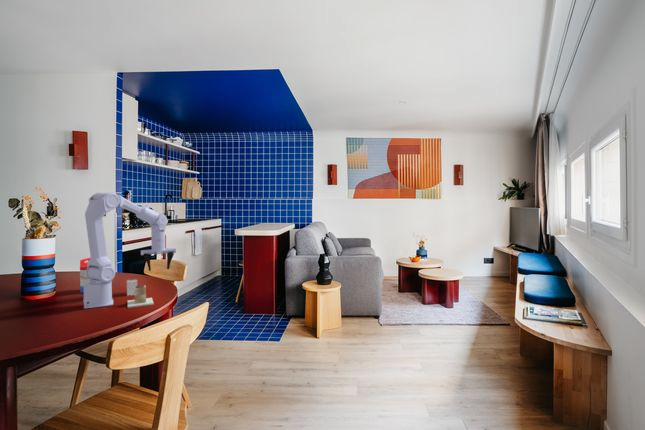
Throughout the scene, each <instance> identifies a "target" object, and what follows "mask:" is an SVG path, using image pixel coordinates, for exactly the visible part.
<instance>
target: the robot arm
mask: <svg viewBox="0 0 645 430" xmlns="http://www.w3.org/2000/svg"><path fill="white" fill-rule="evenodd" d="M117 207H118V208H119V207H120V208H122V209H123V210H127V211H129V212H132V213H133V214H135V216H136V218H138V219H140V220H142V221H145V222H146V223H148V224H149V225H150V230H151V233H150V234H151V249H143V250H140V255H141V256H143V258H144V259H145V262H146V263H147V269H148V271H149V272H151V271H152V269H151V267H152V266H151V255H159V254H160V255H162V254H166V260H167V263H166V268H167V269H166V270H169V269H170V266H171V262H172V259H173V257H174V255H175V254H176V253H177V249H176V247H173V248H166V229H167V224H168V222H169V219H168V218H167V216H166V215H165V214H163V213H159V212H158V210H154V209H151V208H150V206H149V205H137V204H136V203H133V202H132V201H130V200H128V199H127V198H125V197H123V196H122V195H120V194H117V193H115V192H96V193H94V194H92V195H91V196H90V197H89V198H88V205H87V208H86V210H85V213H84V217H85V224H86V231H87V232H86V233H87V239H88V245H89V246H88V247H89V254H90V258H91V259H90V261H89V262H88V261H87V262H88V263H87V264H88V268H87V271H86V275H87V277H88V278H89V279H90V283H87V284H84V293H83V298H82V299H83V303H82V304H83V309H93V308H101V307H102V308H103V307H109V306H113V305H114V299H113V292H112V291H113V290H112V289H113V287H112V286H113V285H112V282H113V279H114V278H115V276H116V270H115V268H114V267H113V263H112V261H111V260H110V258H109V257H108V254H107V253H108V252H107V245H106V238H105V237H106V236H105V231H104V221H103V218H104V217H105V216H106V214H108V213H109V212H111V211H112V210H114V209H116V208H117Z"/></svg>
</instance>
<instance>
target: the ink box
mask: <svg viewBox="0 0 645 430" xmlns="http://www.w3.org/2000/svg"><path fill="white" fill-rule="evenodd" d="M90 259H91V257H87V258H83V259H80V261H79V279H80V280H79V282H80V283H79V285H80V294H82V293H83V294H84V284H87V283H90V279H89V278H88V277H87V275H86V271H87V268H88V264H87V263H88V262H89V261H90ZM86 261H87V262H86Z"/></svg>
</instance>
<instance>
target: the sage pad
mask: <svg viewBox="0 0 645 430" xmlns="http://www.w3.org/2000/svg"><path fill="white" fill-rule="evenodd" d="M153 305H155V303H154V300H153V297H146V302H144V303H136V304H135V299H131V300H129V299H128V300H127V308H128V309H130V308H137V307H145V306H153Z"/></svg>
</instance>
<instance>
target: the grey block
mask: <svg viewBox="0 0 645 430" xmlns="http://www.w3.org/2000/svg"><path fill="white" fill-rule="evenodd" d="M134 286H138V279H137V278H135V279H134V278H133V279H126V297H129V295H130V296H135V293H134Z"/></svg>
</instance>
